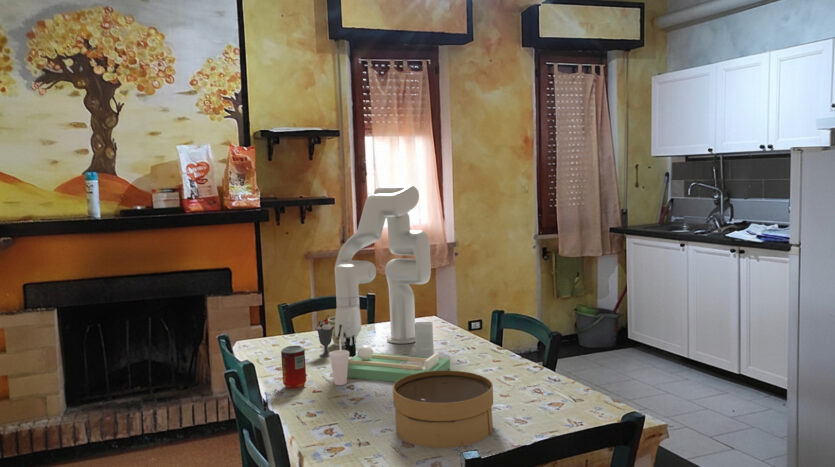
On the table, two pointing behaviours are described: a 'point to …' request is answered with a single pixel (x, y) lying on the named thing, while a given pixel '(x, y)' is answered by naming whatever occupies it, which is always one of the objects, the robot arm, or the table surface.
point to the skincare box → (424, 339)
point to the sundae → (325, 335)
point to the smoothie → (339, 365)
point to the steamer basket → (443, 408)
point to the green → (394, 366)
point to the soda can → (293, 367)
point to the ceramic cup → (335, 339)
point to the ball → (365, 353)
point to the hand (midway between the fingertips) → (350, 355)
